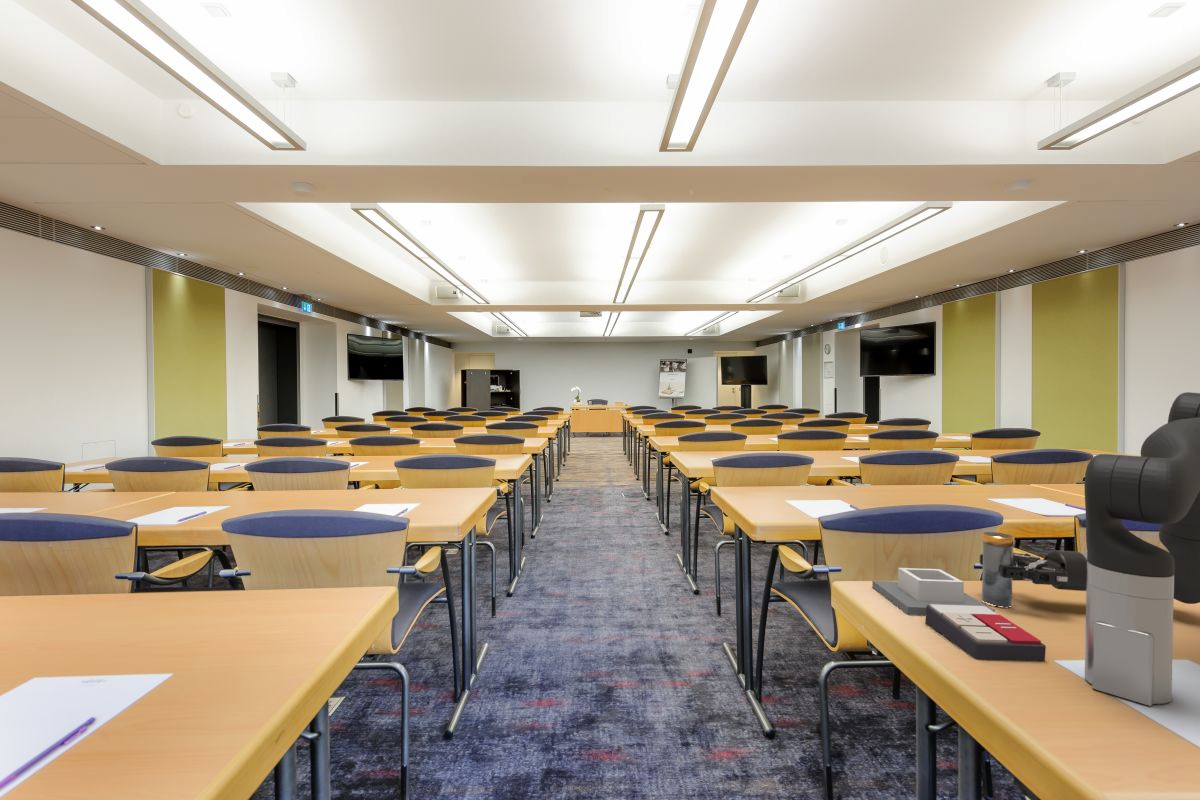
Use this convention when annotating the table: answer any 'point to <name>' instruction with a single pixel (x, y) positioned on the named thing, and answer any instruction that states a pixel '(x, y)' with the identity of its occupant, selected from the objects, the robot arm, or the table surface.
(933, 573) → the duct collar
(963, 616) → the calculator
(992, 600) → the lidded canister
